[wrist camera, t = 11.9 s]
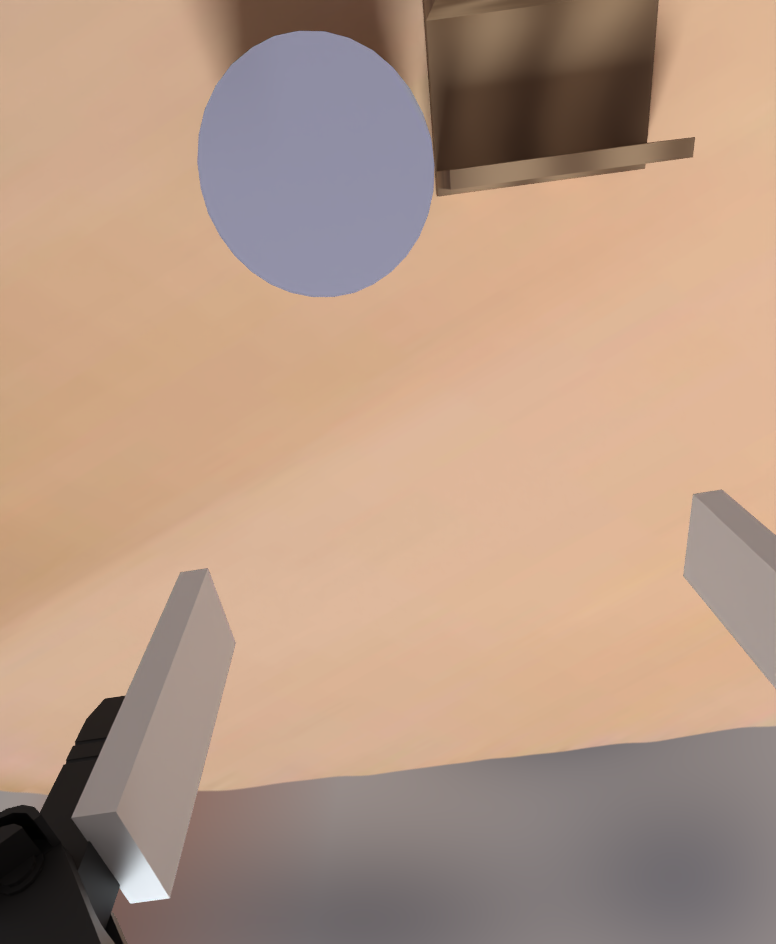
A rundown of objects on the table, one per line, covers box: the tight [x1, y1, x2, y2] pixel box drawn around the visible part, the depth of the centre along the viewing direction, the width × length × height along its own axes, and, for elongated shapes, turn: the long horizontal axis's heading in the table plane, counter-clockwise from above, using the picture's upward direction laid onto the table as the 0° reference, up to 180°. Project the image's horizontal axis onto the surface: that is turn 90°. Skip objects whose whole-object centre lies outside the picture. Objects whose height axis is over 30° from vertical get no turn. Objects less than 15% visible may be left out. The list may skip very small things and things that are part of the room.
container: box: [197, 31, 434, 297], centre depth 31 cm, size 10×10×15 cm
